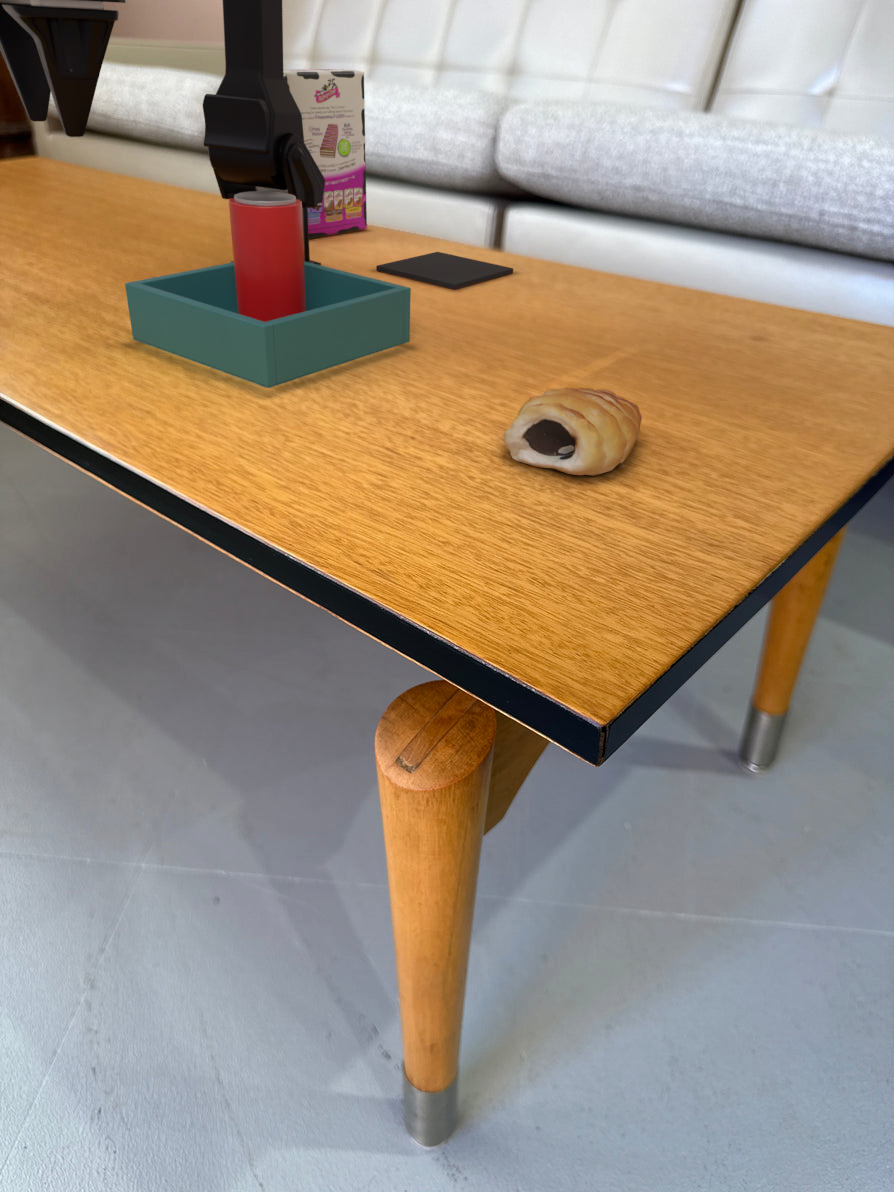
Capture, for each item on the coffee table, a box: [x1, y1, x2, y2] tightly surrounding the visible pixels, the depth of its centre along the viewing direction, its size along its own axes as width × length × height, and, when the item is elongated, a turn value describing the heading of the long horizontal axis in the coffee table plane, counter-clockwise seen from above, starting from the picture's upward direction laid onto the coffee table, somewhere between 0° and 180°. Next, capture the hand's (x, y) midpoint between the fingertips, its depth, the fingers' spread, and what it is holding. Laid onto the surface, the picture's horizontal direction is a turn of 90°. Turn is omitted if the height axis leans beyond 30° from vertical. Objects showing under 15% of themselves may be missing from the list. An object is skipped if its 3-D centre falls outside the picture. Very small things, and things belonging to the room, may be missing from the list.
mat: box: [375, 251, 514, 290], centre depth 88 cm, size 10×10×1 cm
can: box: [228, 191, 306, 322], centre depth 63 cm, size 5×5×10 cm
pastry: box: [502, 387, 642, 477], centre depth 51 cm, size 9×7×4 cm
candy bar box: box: [283, 68, 368, 239], centre depth 98 cm, size 11×5×16 cm, turn 138°
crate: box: [124, 261, 412, 389], centre depth 65 cm, size 15×15×4 cm
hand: (55, 128), depth 59 cm, fingers open, 9 cm apart
